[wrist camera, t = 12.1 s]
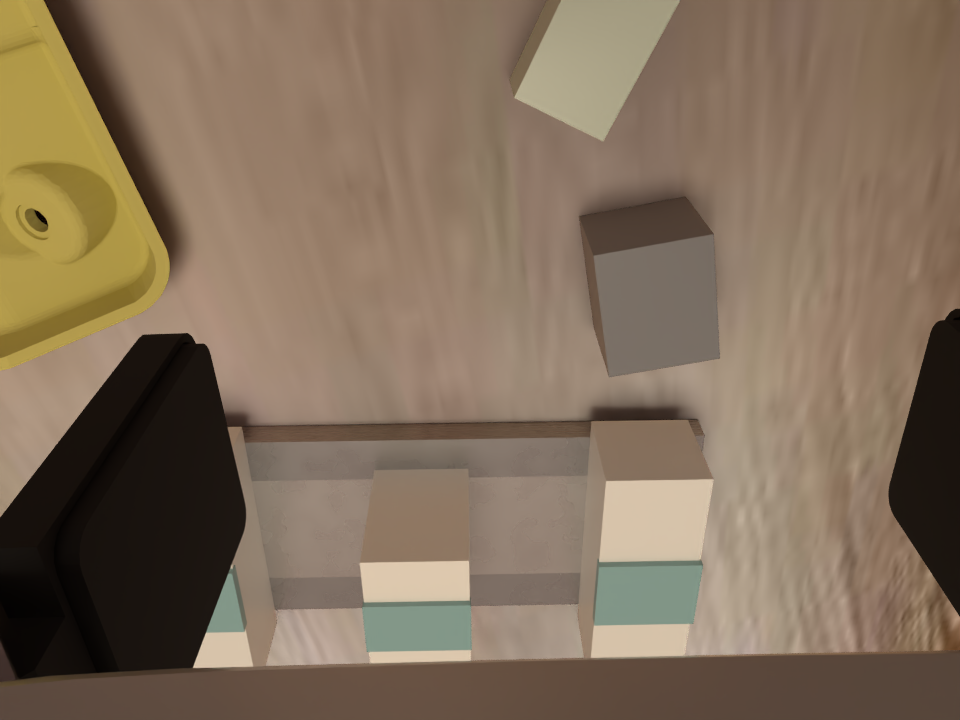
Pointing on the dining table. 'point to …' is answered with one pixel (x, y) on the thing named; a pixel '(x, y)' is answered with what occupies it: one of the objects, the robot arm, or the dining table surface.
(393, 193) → the dining table surface
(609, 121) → the block
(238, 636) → the block
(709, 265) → the block
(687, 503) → the mounted module
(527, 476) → the rail
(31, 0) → the plastic component
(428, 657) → the block
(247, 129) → the dining table surface
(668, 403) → the dining table surface
